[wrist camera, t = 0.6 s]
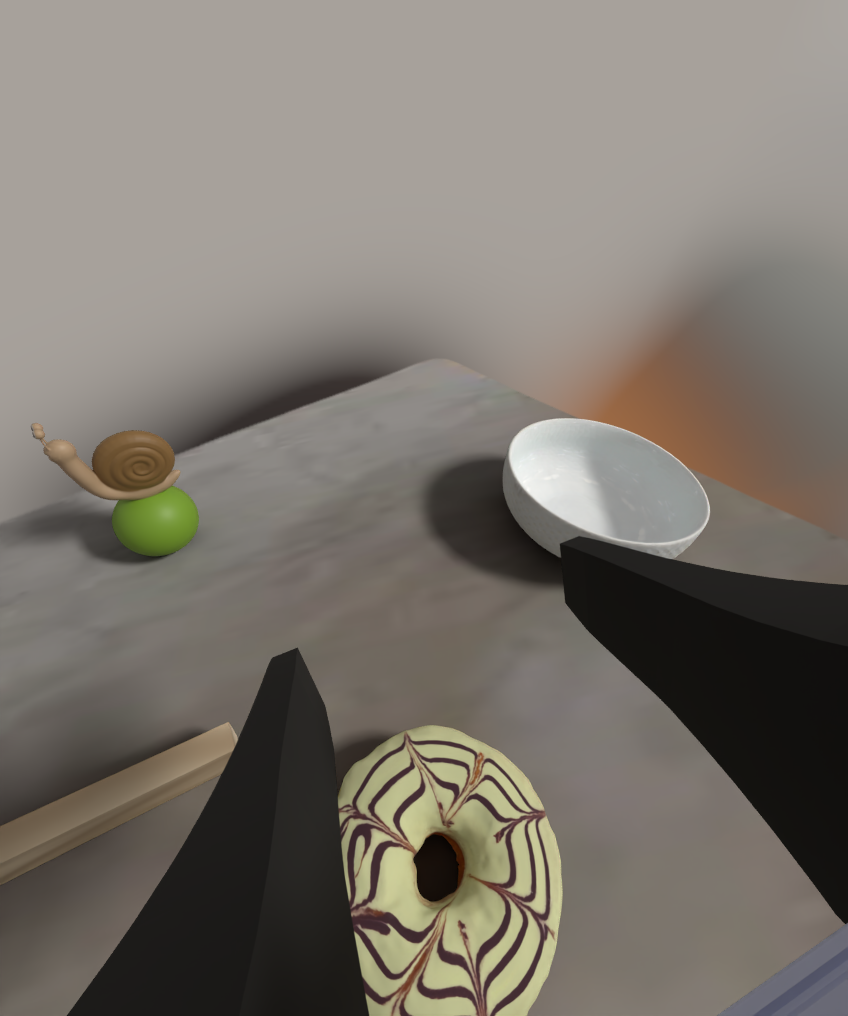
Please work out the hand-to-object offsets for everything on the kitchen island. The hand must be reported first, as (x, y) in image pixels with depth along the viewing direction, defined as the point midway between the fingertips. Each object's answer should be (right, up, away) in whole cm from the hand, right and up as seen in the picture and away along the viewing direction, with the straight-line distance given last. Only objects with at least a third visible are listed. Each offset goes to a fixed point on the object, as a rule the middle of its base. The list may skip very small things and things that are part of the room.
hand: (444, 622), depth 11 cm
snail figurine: (-21, 0, +22) cm, 31 cm away
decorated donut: (0, -16, +11) cm, 19 cm away
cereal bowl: (+14, +1, +30) cm, 33 cm away
